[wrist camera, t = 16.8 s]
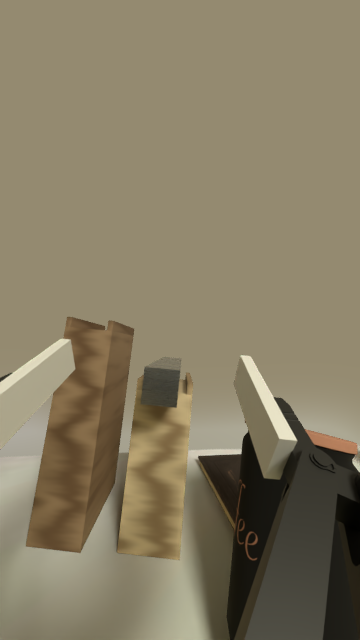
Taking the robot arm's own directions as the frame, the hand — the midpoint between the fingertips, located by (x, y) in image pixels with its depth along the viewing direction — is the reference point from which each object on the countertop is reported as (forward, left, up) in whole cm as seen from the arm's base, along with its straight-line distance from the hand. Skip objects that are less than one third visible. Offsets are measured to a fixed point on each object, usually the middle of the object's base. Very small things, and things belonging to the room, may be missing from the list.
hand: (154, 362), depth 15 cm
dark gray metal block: (0, +18, -5) cm, 18 cm away
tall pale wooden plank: (0, +19, -25) cm, 32 cm away
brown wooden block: (-12, +18, -25) cm, 33 cm away
